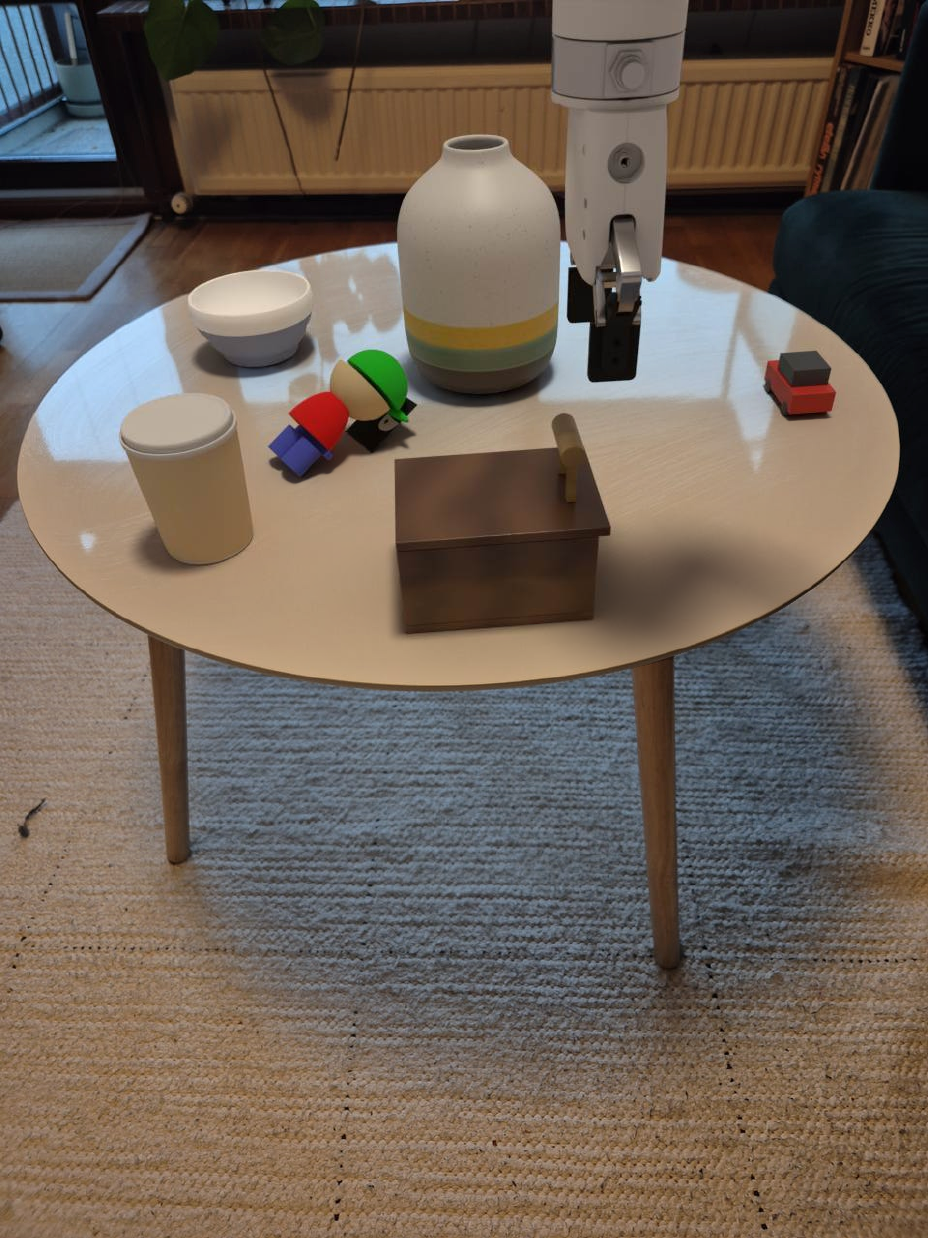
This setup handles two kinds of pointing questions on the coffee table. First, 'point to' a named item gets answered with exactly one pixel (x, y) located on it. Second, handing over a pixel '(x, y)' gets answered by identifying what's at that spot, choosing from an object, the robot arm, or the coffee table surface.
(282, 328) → the bowl
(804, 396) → the car
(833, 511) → the coffee table surface
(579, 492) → the lid
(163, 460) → the coffee cup
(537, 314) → the vase
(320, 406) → the toy
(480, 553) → the chest
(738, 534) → the coffee table surface
